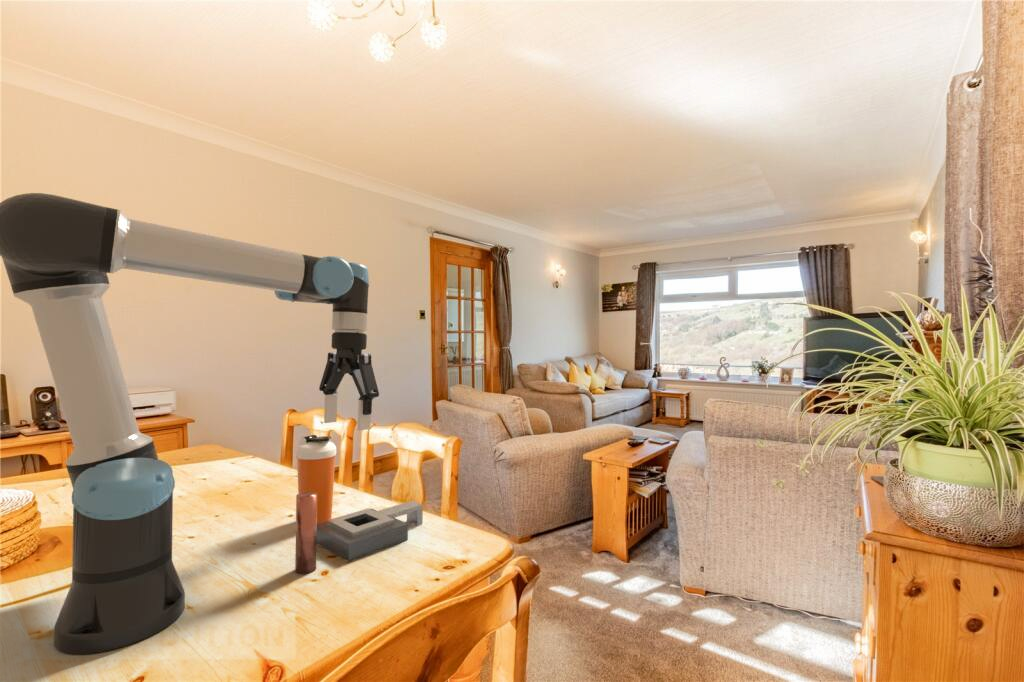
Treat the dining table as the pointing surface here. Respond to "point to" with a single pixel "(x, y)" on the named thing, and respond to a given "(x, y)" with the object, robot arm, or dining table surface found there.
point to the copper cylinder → (306, 532)
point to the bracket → (377, 518)
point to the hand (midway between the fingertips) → (346, 426)
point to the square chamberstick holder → (360, 539)
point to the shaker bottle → (317, 472)
